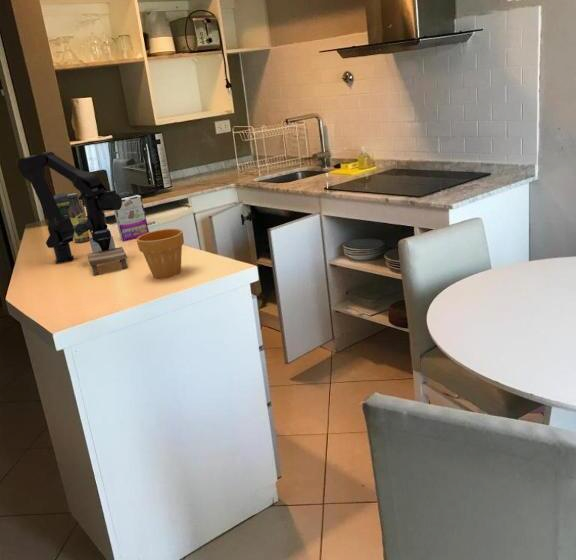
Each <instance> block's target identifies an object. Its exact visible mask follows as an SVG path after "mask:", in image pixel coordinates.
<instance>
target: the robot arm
mask: <svg viewBox="0 0 576 560" xmlns="http://www.w3.org/2000/svg"><path fill="white" fill-rule="evenodd" d="M16 165H17V168H18V170H19V172H20V173H21V175H22V177H23V178H24V179H26V180H27V181H28V182H30V184H31V185H32V187H33V189H34V192H35V194H36V197H37V199H38V200H39V202H40V205H41V207H42V209H43V212H44V213H45V216H46V218H47V221H48V222H47V224H48V225H47V230H48V233H49V236H48V238H47V239H46V241H45V244H46V246H47V248H49V249H52V248H53V251H54V256H55V264H62V263H66V262H72V261H75V258H74V254H73V253H72V250H71V247H70V243H71V242H74V233H75V232H76V234H77V235H78V236H81V235H82V234H83V233H85V232H86V231H88V232H90V235H91V238H93V241H94V242H96V243H98V244H99V246H100V248H101V250H102V251H104V250H109V245H110V240H111V236H112V233H111V230H110V229H109V228H108V224H107V221H106V214H105V212H104V211H114V210H119V209H120V208H121V206H122V198H121V195H119V194H118V193H117V191H116V190H115V189H114V190H113V189H112V190H109V189H108V188H107V187H106V185H105V184H104V183H103V182H102V181H101V180H100V178H99V176H98V175H97V174H94V173H92V172H89V171H86V170H85V171H84V170H81V169H79V168H77V167H75V166H73V165H72V164H71V163H69V162H67V161H66V160H65V159H62V158H61V157H59V156H58V155H56V154H55V152H53V151H45V152H41V153H39V154H33V155H29V156H25V157H22V158H20V159H19V160H18V161H17V164H16ZM46 166H47V168H50V169H51V170H52V171H55V172H56V173H58V174H59V175H61V176H62V177H64V178H65V179H67V180H69V182H71V183H72V185H73V187H74V188H75V189H76V190H77V191H79V192H80V193H81V194H80V195H79V196H78V201H81V200H83V203H84V207H85V210H86V218H85V219H86V220H84V221H82V222H80V223H79V224H77V225H75V226H73V224H72V222H71V219H70V218H65V217H64V216H62V214H61V212H60V210H59V208H58V206H57V204H56V201H55V199H54V197H53V196H54V195H53V193H52V191H51V189H50V186H49V184H48V183H47V179H46ZM72 254H73V255H72Z"/></svg>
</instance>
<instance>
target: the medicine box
mask: <svg viewBox="0 0 576 560" xmlns="http://www.w3.org/2000/svg"><path fill="white" fill-rule="evenodd" d="M88 241H89V243H90V248H91V252H92V253H95V252H100V251H102V250H101V248H100V246H99V244H98V243H96V242H94V241H93V238H92V237H89V240H88ZM114 248H116V243H115V241H114V237H113V235H111V240H110V245H109V249H114Z"/></svg>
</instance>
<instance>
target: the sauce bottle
mask: <svg viewBox="0 0 576 560" xmlns="http://www.w3.org/2000/svg"><path fill="white" fill-rule="evenodd" d="M67 198H68V200H69V205H70V207H69V210H68V214H69V218H70V219H71V222H72V224H73V226H75V225H77V224H79V223H80V222H82V221H84V220H86V219H87V218H86V214H85V212H84V210H83V208H82V206H81V205H80V202H79V199H78V198H79V196H78V193H69V195H67ZM89 232H90V231H89V230H88V231H86V232H85V233H83V234H82V235H81V236H78V235H77V234H76V232H75V233H74V237H73V240H74V243H76V244H77V243H79V244H80V243H82V244H83V243H85V242H88V241H90V240H89V239H90V233H89Z"/></svg>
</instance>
